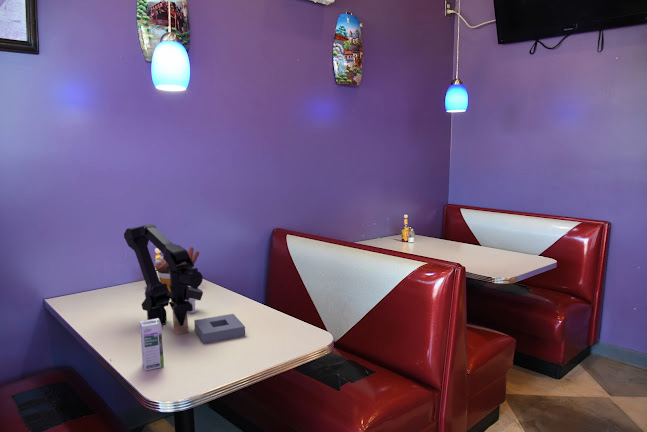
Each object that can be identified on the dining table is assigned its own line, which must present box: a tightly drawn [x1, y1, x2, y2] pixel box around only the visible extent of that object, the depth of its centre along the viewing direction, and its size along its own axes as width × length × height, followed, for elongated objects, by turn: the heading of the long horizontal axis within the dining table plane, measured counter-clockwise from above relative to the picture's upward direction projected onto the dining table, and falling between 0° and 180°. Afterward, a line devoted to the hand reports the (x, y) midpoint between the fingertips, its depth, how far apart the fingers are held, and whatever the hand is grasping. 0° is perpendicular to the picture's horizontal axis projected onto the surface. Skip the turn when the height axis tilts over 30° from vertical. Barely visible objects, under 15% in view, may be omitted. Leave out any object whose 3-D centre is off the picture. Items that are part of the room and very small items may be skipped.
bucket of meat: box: [155, 246, 200, 292], centre depth 228 cm, size 20×16×20 cm
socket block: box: [194, 313, 246, 344], centre depth 177 cm, size 15×15×4 cm
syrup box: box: [139, 318, 165, 372], centre depth 150 cm, size 6×6×14 cm
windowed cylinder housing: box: [185, 286, 200, 314], centre depth 199 cm, size 7×7×15 cm
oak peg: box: [172, 310, 189, 335], centre depth 178 cm, size 4×4×9 cm
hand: (180, 323), depth 178 cm, fingers closed on oak peg, 4 cm apart
